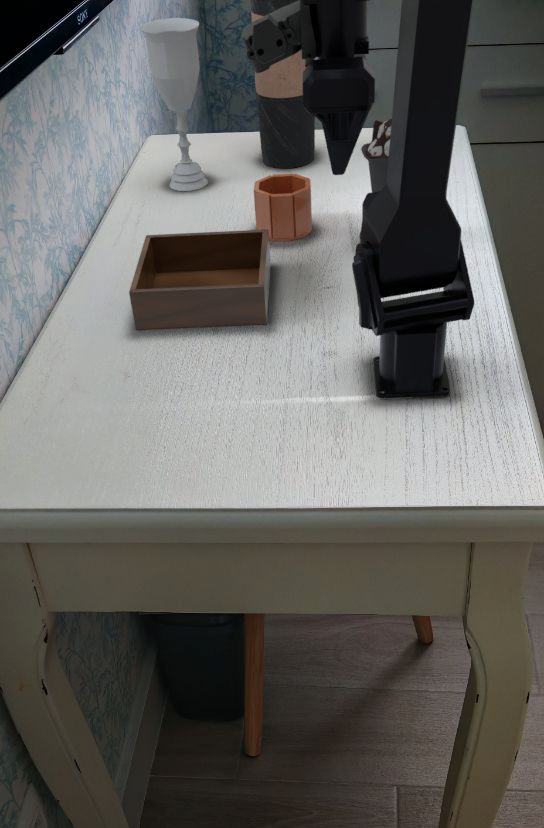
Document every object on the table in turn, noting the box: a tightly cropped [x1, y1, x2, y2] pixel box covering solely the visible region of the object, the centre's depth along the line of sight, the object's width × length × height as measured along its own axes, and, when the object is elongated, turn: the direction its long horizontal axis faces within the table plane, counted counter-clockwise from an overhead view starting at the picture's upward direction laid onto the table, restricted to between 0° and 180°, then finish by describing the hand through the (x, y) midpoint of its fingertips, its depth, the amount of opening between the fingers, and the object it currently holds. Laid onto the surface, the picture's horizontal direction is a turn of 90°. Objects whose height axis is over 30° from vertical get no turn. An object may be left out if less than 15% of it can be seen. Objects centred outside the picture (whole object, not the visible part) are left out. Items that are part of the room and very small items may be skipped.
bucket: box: [253, 173, 313, 242], centre depth 105 cm, size 6×6×6 cm
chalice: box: [139, 17, 209, 192], centre depth 114 cm, size 7×7×18 cm
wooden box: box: [128, 229, 272, 331], centre depth 95 cm, size 13×13×4 cm
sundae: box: [360, 118, 392, 193], centre depth 98 cm, size 7×7×15 cm
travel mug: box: [250, 0, 316, 169], centre depth 117 cm, size 8×8×20 cm
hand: (337, 157), depth 91 cm, fingers open, 9 cm apart
